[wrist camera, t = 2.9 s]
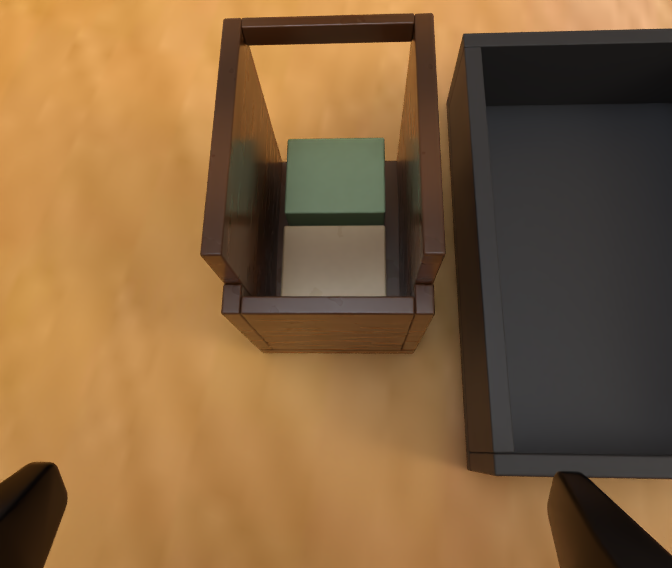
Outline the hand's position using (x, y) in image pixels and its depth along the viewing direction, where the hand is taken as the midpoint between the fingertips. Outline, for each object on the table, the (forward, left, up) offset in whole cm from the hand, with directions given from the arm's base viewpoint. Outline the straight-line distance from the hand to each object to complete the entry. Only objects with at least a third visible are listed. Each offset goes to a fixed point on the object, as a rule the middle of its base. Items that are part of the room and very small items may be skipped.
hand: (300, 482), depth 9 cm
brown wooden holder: (+7, -6, -12) cm, 15 cm away
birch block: (+6, -5, -12) cm, 14 cm away
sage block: (+9, -7, -12) cm, 16 cm away
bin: (-1, -14, -12) cm, 19 cm away
